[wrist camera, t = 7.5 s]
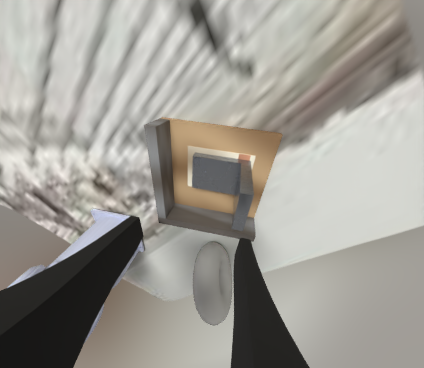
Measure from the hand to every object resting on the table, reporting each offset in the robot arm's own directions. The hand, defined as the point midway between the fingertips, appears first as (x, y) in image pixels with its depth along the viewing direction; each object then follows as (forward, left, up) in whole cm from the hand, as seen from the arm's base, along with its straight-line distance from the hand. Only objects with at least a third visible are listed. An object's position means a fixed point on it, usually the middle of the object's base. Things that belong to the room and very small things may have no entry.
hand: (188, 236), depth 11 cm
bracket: (+1, -1, -9) cm, 9 cm away
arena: (0, 0, -9) cm, 9 cm away
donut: (-14, -3, -10) cm, 18 cm away
